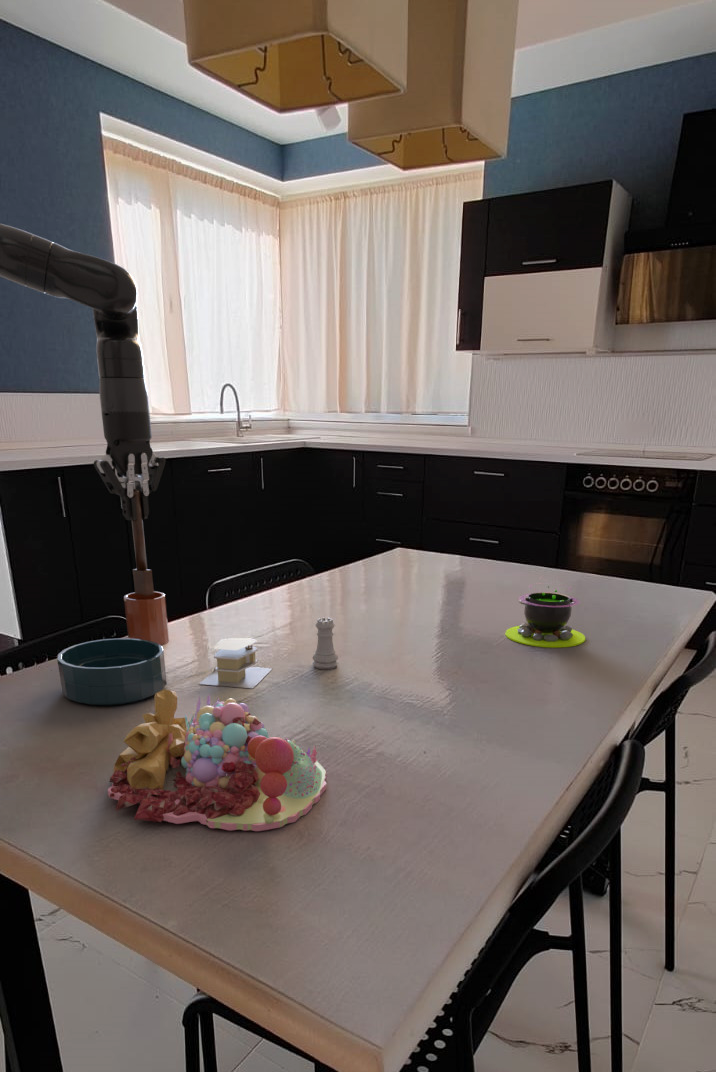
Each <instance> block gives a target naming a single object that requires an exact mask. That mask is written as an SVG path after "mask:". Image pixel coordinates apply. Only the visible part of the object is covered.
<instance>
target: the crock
mask: <svg viewBox="0 0 716 1072" xmlns="http://www.w3.org/2000/svg"><path fill="white" fill-rule="evenodd" d="M123 602H124V613H125V619H126V631H127V638H129V639H141V640H148V641H152V642H155V643H158V644H159V645H161V646H164V645H167V644H168V643H169V642H170V635H169V633H170V632H169V624H168V622H169V621H168V612H167V602H166V594H165V593H164V592H160V591H154V595H150V596H142V595H137V594H135V591H134V592H130V593H127V594H125V595H124V596H123Z"/></svg>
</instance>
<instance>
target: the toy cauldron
mask: <svg viewBox="0 0 716 1072" xmlns="http://www.w3.org/2000/svg"><path fill="white" fill-rule="evenodd" d="M542 578H543V577H542V576H541V577H539V580H543V579H542ZM558 579H560V580H558V582H561V580H563V578H561V577H558ZM544 581H546V582H547V585H548V586H547V588H548V589H549V588H550V586H549V584H550V583H548V579H547V580H546V579H544ZM555 582H556V581H555V580H553V583H552V582H551V585H554V583H555ZM537 584H545V583H544V582H543V583H541V582H539V583H537ZM533 585H534V583H533V584H529V585H528V588H529V589H531V590H533V591H536V589H534V588H531V587H532V586H533ZM559 585H561V586H562V584H560V583H559ZM563 586H564V587H567V588H569V589H568V590H567V591H566V590H565V591H564V593H566V592H570V591H572V590H573V588H572V587H569V586H568V585H565V584H563ZM517 598H518V603H519V604H521V605H524V611H523V615H524V618H525V621H526V622H524V623H522V624H520V625H515V626H511V627H509V628H508V629H506V631H505V637H506V638H507V639H508V640H510V641H512V642H515V643H519V644H522V645H524V646H525V645H526V646H532V647H537V648H551V649H555V648H557V649H558V648H559V649H561V648H571V647H576V646H579V645H582V644H584V643H585V642H586V636H585V635H584V634H583V633H582V632H580V631H578V630H575V629H573V628H572V627H571V626H569V625H567V624H568V623H569V621H570V618H571V616H572V610H573V609H572V607H575V606H578V605H580V600H579V599H577V598H575V597H573V596H569V595H566V594H563V593H559V592H558V590H557V589H554V592H549V591H545V590H544V591H540V590H537V592H531V593H526V594H523V595H520V596H518V597H517Z"/></svg>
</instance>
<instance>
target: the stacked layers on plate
mask: <svg viewBox="0 0 716 1072" xmlns="http://www.w3.org/2000/svg"><path fill="white" fill-rule="evenodd" d="M257 641H258V640H257V639H254V638H252V637H228V638H222V639H219V640H218V642H217V643H216V644H215V645H214V646H213V649H214V650H217V651H216V653H215V654H214V656H213V658H214V659H216V665H215V668H214V670H213V671H212V672H211V673H210V674H209V675H207V676H206V677H205V678H204V679H203V680H202V681H200V682H199V683H198V685H207V686H219V687H230V688H231V687H233V688H241V689H242V688H245V689H254V688H255V687H257V685H258V684H259V683H260V682H261V681H262V680H263V678H265V677H266V676H267V675H268V674H269V673H270V672H271V671H272V670H273V668H271V667H259V666H255V665H257V664H258V663H259V660H258V659H256V652H257V651H258V647H256V646H253V644H256V643H257Z"/></svg>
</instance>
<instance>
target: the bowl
mask: <svg viewBox="0 0 716 1072" xmlns="http://www.w3.org/2000/svg"><path fill="white" fill-rule="evenodd" d="M56 660H57V661H56V662H57V666H58V674H59V679H60V686H61V693H62V695H63V696H64V697H66V699H68V700H70V701H73V702H77V703H81V704H85V705H93V706H118V705H126V704H130V703H135V702H140V701H142V700H145V699H149V698H150V697H152V696H155V694H156V693H158V692H160V691H162V690H164V689H165V687H166V686H167V684H168V682H167V671H166V661H165V651H164V647H163V645H159V644H158V643H155V642H152V641H148V640H141V639H129V638H128V637H127V638H120V637H119V638H104V639H96V640H91V641H86V642H85V641H84V642H82V643H78V644H74V645H72V646H69V647H67V648H64V649H62V650H61V651H60V652H59V653H58V654H57V658H56Z"/></svg>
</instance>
